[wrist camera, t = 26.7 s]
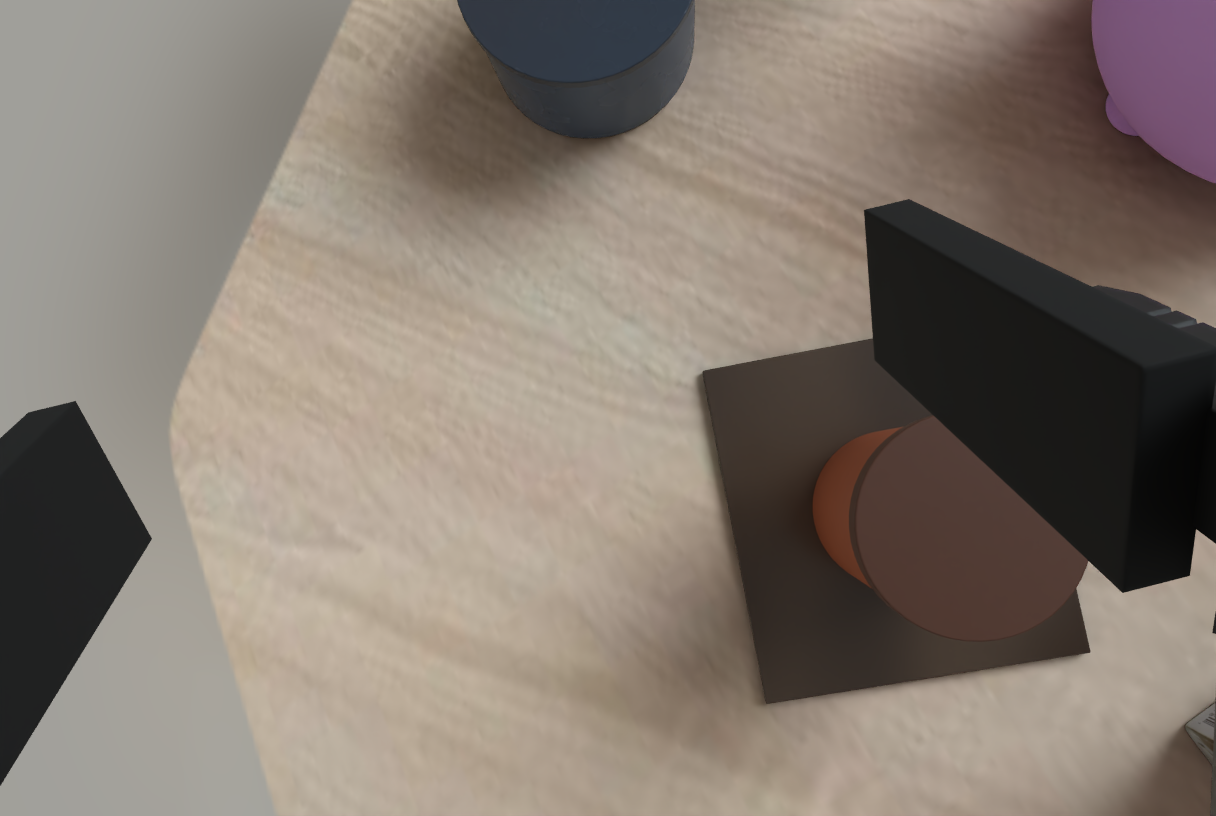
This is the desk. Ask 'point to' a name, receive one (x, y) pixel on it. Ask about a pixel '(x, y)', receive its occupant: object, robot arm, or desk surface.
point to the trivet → (791, 549)
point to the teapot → (1161, 75)
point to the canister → (941, 535)
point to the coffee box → (1203, 731)
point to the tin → (586, 58)
